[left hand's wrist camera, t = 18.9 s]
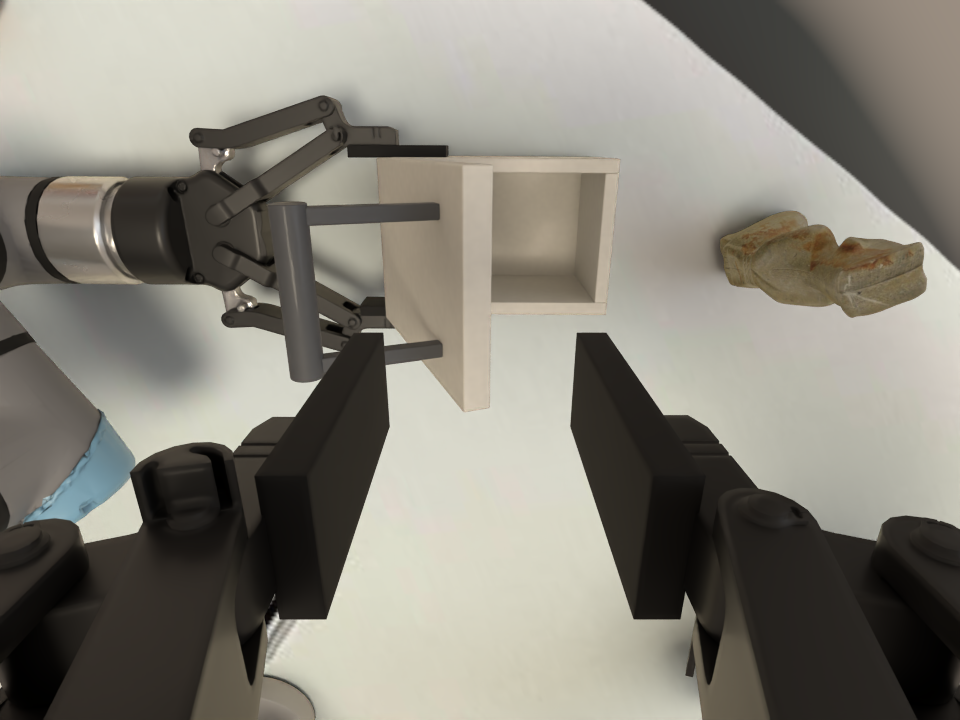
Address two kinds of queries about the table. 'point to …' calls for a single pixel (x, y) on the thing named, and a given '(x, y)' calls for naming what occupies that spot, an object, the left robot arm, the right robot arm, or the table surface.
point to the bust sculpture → (283, 702)
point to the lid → (405, 272)
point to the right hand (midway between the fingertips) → (448, 232)
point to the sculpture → (822, 266)
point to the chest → (550, 232)
